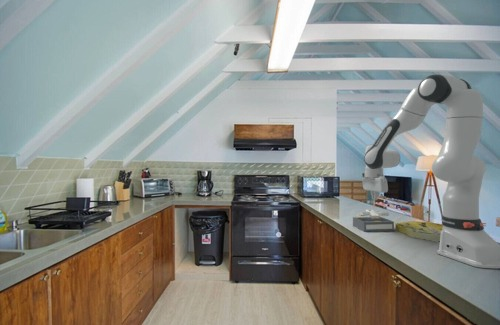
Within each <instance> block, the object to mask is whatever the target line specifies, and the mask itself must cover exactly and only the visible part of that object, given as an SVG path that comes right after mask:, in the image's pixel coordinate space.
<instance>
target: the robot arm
mask: <svg viewBox="0 0 500 325" xmlns="http://www.w3.org/2000/svg"><path fill="white" fill-rule="evenodd" d="M436 104H440V105H444V106H445V107H446V115H445V116H446V117H445V124H444V125H445V127H444V137H443V141H442V144H441V147H440V150H439V152H438V156H437V157H436V158H435V159H434V161H433V162H432V164H431V172H432V174H433V176H435V178H437V179H439V180H440V181H444V182H447V184H446V185H447V186H446V189H445V192H444V194H443V195H442V216H441V224H442V225H443V229H442V231H441V235H440V242H439V247H438V249H437V251H436V253H437V254H438V255H441V256H443V257H446V258H449V259H452V260H455V261H458V262H460V263H464V264H467V265H469V266H472V267H475V268H483V269H500V244H499V243H498V242H497V241H496V240H495V239H494V238H493V237H491V235H490V234H489V233H487V232H486V231H485V227H487V222H482V220H481V219H480V193H481V189H482V185H483V184H482V183H483V179H484V178H483V177H484V175H485V173H486V171H487V165H486V163H485V161H484V160H483V159H482V158H480V157H478V156H476V155H474V153H475V150H476V148H477V145H478V143H480V141H481V138H482V130H483V128H482V127H483V117H484V103H483V97H482V93H481V92H480V91H479V90H478V89H477V90H476V89H473V88H472V86H471V84H470V83H469V82H468V81H466V80H465V79H463V78H458V77H454V76H452V75H442V74H429V75H428V76H426V77H424V78H423V79H422V80H421V81H420V82H419V84H418V86H416V87H414V88H413V89H412V90H411V91H410V92H409V93H408V94H407V96H406V98H405V99H404V101H403V102H402V105H401V107H400V108H399V109H398V111H397V113H396V114H395V115H394V117H393V118H391V120H390V121H388V123H387V124H386V125H385V126H384V127H383V129H382V130H381V133H380V134H379V135H378V137H377V139H376V140H375V142H374V143H372V144H369V145H367V146H366V147H365V150H364V162H365V167H364V169H365V171H363V172H362V173H361V179H362V188H363V190H364V191H370V194H371V199H372V200H374V201H378V200H379V195H380V193H383V194H384V193H388V191H389V186H388V179H387V178H386V176H385V174H384V169H391V168H395V167H397V166H399V164H400V162H401V155H400V152H398V151H397V150H396V149H391V148H388V147H389V146H390V144H391V143H392V142H393V140H394V139H395V138H396V137H397V136H399V135H401V134H404V133H407V132H410V131H412V130H413V131H414V130H415V129H416V128H418V127H420V125H421V124H422V123H423V122H424V120H425V118H426V117H427V114H428V113H429V111H430V109H431V108H432V107H433V106H434V105H436Z"/></svg>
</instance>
